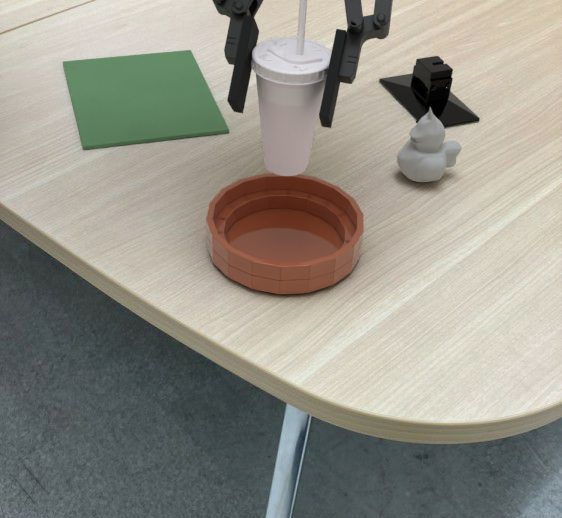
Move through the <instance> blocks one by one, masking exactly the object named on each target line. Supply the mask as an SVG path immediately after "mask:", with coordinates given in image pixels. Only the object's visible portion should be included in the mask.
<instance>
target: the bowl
mask: <svg viewBox="0 0 562 518" xmlns="http://www.w3.org/2000/svg"><path fill="white" fill-rule="evenodd" d="M364 223H365V222H364V213H363V211H362V209H361V208H360V206H359V205H358V203H357V201H356V200H355V198H354V197H353V196H352V195H350V194H349V193H347V192H346V191H345V190H344V189H342V188H341V187H340V186H338V185H336V184H335V183H332V182H329V181H326V180H324V179H321V178H319V177H316V176H312V175H306V174H302V173H301V174H298V175H295V176H281V175H277V174H274V173H272V172H266V173H265V172H263V173H259V174H256V175H251V176H246V177H242V178H239V179H238V180H236V181H234V182H232V183H230V184H229V185H227V186H224V187H223V188H222V189H220V190H219V191H218V193H216V195H215V196H214V197H213V198H212V200H211V201H210V202H209V203H208V207H207V212H206V217H205V230H206V233H205V234H206V247H207V252H208V253H209V256H210V258H211V261H212V263H213V265H214V266H215V267H217V269H219V270H220V271H221V272H222V273H223V275H225V276H226V277H227V278H228V279H230V280H231V281H235V282H237V283H239V284H241V285H242V286H244V287H247V288H249V289H252V290H255V291H261V292H266V293H271V294H277V295H291V294H292V295H295V294H308V293H312V292H315V291H318V290H322V289H324V288H328V287H332V286H334V285H335V284H338V282H340V281H341V280H342V279H344V278H345V277H347V276H348V275H350V274H351V273H352V271H353V270H354V268H355V267H356V264H357V263H358V261H359V259H360V257H361V251H362V245H363V239H364V232H365V226H364Z"/></svg>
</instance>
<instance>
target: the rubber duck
mask: <svg viewBox="0 0 562 518" xmlns="http://www.w3.org/2000/svg"><path fill="white" fill-rule="evenodd" d="M446 134H447V133H446V128H444V126H443V124H442V123H441V121H440V120H438V119H437V118H436V117H435V116H434V114H433V113H432V110H431V107H430V109H429V112H428V113H427V114H426V115H424V116H423V117H422V118H421V119H420V120H419V122H418V123H417V122H416V123H415V125H414V126H413V127H412V128H411V129H410V130H409V132H408V135H409V137H410V139H408V140H407V141H406V142H405V144H404V145H403V146H402V147H401V148H400V150H399V151H398V152H397V156H396V163H397V166H398V168H399V170H400V171H401V173H402V174H403V175H404V176H405V177H406V178H407V179H409V180H410V181H413V182H416V183H431V182H434V181H439V180H441V179H442V177H443V176H444V174H445V171H446V169H451V168H453V167H455V165H456V163H457V157H458V156H459V154H460V153H461V151H462V145H461V144H460V142H458V141H457V140H447V141H445V139H446Z"/></svg>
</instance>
